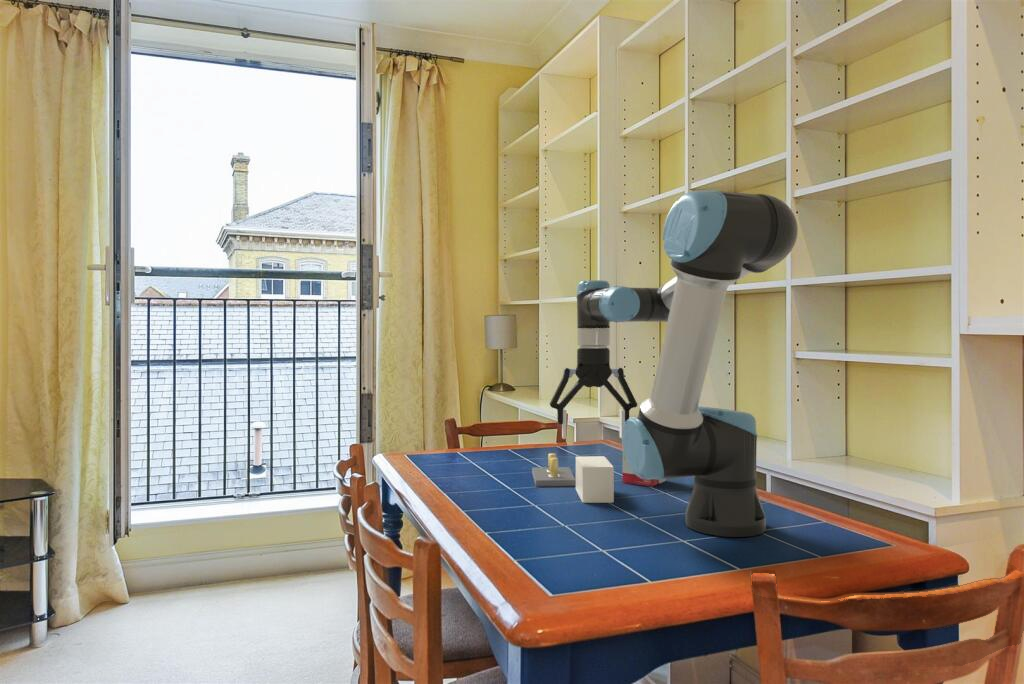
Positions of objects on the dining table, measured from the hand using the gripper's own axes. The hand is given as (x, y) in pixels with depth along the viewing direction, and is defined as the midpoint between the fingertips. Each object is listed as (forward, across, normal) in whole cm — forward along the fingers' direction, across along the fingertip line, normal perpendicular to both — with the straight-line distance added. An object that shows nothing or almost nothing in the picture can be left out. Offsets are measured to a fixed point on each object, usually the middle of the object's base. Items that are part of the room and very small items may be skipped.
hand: (593, 437), depth 159 cm
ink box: (+14, -15, -14) cm, 25 cm away
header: (+14, +8, -18) cm, 24 cm away
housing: (+14, 0, 0) cm, 14 cm away
